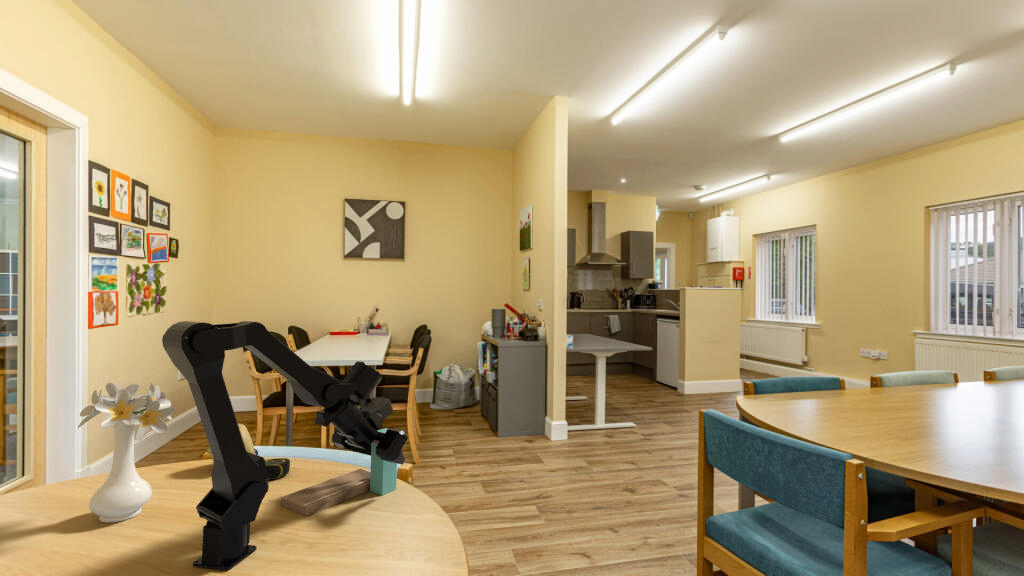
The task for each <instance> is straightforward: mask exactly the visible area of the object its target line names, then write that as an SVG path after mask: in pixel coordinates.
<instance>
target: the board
mask: <svg viewBox="0 0 1024 576" xmlns="http://www.w3.org/2000/svg"><path fill="white" fill-rule="evenodd" d="M368 491H369V492H370V479H369V478H366V469H362V468H359V469H355V470H352V471H350V472H347V473H345V474H340V475H339V476H337V477H334V478H331V479H330V478H329V479H327V480H325V481H322V482H319V483H317V484H313V485H311V486H308V487H305V488H302V489H300V490H297V491H294V492H291V493H289V494H285V495H283V496H281V497H280V506H282V507H285V508H287V509H289V510H292V511H294V512H296V513H298V514H300V515H303V516H306V517H308V516H312V515H313V514H316V513H318V512H321V511H323V510H325V509H327V508H330V507H333V506H334V505H338V504H339V503H343V502H345V501H346V500H349V499H351V498H354V497H356V496H359V495H361V494H364V493H366V492H368Z"/></svg>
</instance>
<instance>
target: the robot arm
mask: <svg viewBox="0 0 1024 576" xmlns="http://www.w3.org/2000/svg"><path fill="white" fill-rule="evenodd" d="M161 339H162V340H161V343H162V347H163V349H164V351H165V352H166V354H167V356H168V357H169V359H170V361H171V362H172V364H173V365H174V367H175V368H176V369H177V371H179V372H180V374H181V375H182V376H183V377H184V378H185V379H186V382H188V386H189V389H190V391H191V394H192V397H193V401H194V403H195V407H196V409H197V410H196V411H197V412H198V415H199V419H200V421H201V424H202V427H203V431H204V433H205V437H206V440H207V443H208V445H209V446H210V449H211V452H212V455H213V458H214V464H213V463H212V464H213V467H212V470H211V476H210V477H211V485H212V487H211V489H210V490H209V491H208V492H207V493H206V494H205V495H204V497H202V499H201V500H200V502H199V503H197V505H196V507H195V509H196V512H197V513H198V517H199V518H200V519H204V520H206V523H205V525H203V526H202V545H201V547H202V548H201V550H202V551H201V556H200V557H198V558H197V559H195V560H194V561H192V566H193V567H200V568H207V569H213V570H222V571H229V570H231V569H232V568H233V567H235V566H236V565H237V564H239V563H240V562H241V561H243V560H244V559H245V558H247V557H248V556H249V555H251V554H253V552H255V551H256V550H257V545H253V544H250V539H251V538H250V537H251V523H253V522H255V521H256V519H257V516H258V513H259V510H260V507H261V505H262V502H263V500H264V499H265V497H266V494H267V493H268V492H269V487H270V486H269V480H272V479H271V477H270V476H269V475H268V473H267V471H266V464H265V460H266V459H265V458H264V457H263V456H260V455H255V454H253V453H250V452H247V451H246V448H245V445H244V442H243V439H242V435H241V432H240V429H239V426H238V424H239V423H238V420H237V418H236V413H235V411H234V408H233V407H234V406H233V404H232V401H231V397H230V395H229V392H228V387H227V386H226V382H225V379H224V374H223V369H224V363H225V358H226V353H225V352H226V351H232V350H236V349H240V348H246V349H247V351H250V353H252V354H254V356H256V357H257V358H258V359H259V360H261V361H262V362H264V363H265V364H266V365H268V366H269V368H271V369H272V370H274V371H275V372H276V373H278V374H279V375H280V376H281V377H283V378H284V379H286V381H287V382H288V383H289V384H290V386H291V388H292V391H293V392H294V393H295V394H296V396H297V397H298V398H299V399H300V400H301V402H303V403H305V404H307V405H310V406H311V405H312V406H315V407H320V408H321V410H317V411H316V413H315V418H314V424H315V425H317V426H321V427H325V428H326V427H328V426H329V425H330V424H331V425H333V426H334V427H335V428H336V430H334V432H333V434H332V435H331V443H333V445H335V446H336V447H338V448H341V449H343V450H347V451H351V452H355V453H359V454H363V455H367V456H370V457H371V443H376V444H378V445H377V446H376V455H377V456H378V457H380V458H381V460H385V461H388V462H393V463H397V465H401V466H402V465H404V463H405V455H404V453H403V450H402V449H403V447H404V446H405V444H406V442H407V441H408V440H409V436H408V433H406V431H405V430H402V429H398V428H393V427H391V428H387V431H386V433H382V432H378V430H381V429H383V426H384V424H383V423H382V422H383V421H384V420H386V419H387V418H388V417H389V416H390V415H393V413H394V411H395V410H394V407H393V405H392V402H391V400H390V398H386V397H381V396H379V397H370V396H371V394H372V393H373V391H374V390H375V389H376V388H377V386H378V384H379V383H380V382H381V380H382V379H383V376H382V375H381V373H380V372H379V371H378V370H375V369H374V368H373V367H372V366H370V365H367V364H366V363H365V362H364V361H359V360H357V361H356V362H355V363H354V364H353V366H352V368H351V369H350V371H349V372H348V373H347V374H346V375H345V377H344V378H343V380H341V379H338V378H336V377H335V376H333V375H331V374H329V373H327V372H325V371H322V370H320V369H317V368H315V367H314V366H311V365H310V364H308V363H307V362H306V361H305V360H304V359H302V357H300V355H298V354H297V353H296V352H294V351H293V350H292V349H290V347H288V346H287V345H286V344H284V342H282V341H281V340H280V339H278V338H277V337H276V336H275V335H274V334H273V333H271V332H270V331H269V330H268V329H267V327H266V326H265V325H264V323H262V322H259V321H251V320H250V321H249V320H243V321H238V322H231V323H218V324H212V323H210V322H201V321H192V320H191V321H188V320H184V321H178V322H176V323H173V324H172V325H171V326H169V327H168V328H167V329H166V331H165V332H164V334H163V335H162V338H161ZM355 402H356V403H359V406H358V405H357V404H356V403H355ZM209 446H208V447H209Z"/></svg>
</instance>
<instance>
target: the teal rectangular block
mask: <svg viewBox="0 0 1024 576" xmlns="http://www.w3.org/2000/svg"><path fill="white" fill-rule="evenodd" d="M387 429H388V428H386V427H385V428H381V429H380V430H379V429H378V432H382V433H386V431H387ZM377 445H378V444H376V443H371V456H370V468H369V469H367V470H366V469H365V470H366V478H369V479H370V490H369V492H370V493H373V494H377V495H378V496H379V495H380V496H385V495H387V494H389V493H391V492H393V491H396V490H397V475H398V474H397V473H398V472H397V471H398V469H397V468H398V467H397V466H398V464H397V463H393V462H388V461H385V460H381V458H380V457H378V456H377V455H376V446H377Z"/></svg>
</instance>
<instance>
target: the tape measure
mask: <svg viewBox="0 0 1024 576" xmlns="http://www.w3.org/2000/svg"><path fill="white" fill-rule="evenodd" d="M264 460H265V464H266V471H267V473H268V475H269V476H270V477H271V479H270V480H274V479H273V478H275V479H279V478H282V477H284V476H286V475H288V474H289V472H290V468H291V460H290V459H289V458H287V457H286V458H285V457H280V458H270V459H264Z"/></svg>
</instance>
